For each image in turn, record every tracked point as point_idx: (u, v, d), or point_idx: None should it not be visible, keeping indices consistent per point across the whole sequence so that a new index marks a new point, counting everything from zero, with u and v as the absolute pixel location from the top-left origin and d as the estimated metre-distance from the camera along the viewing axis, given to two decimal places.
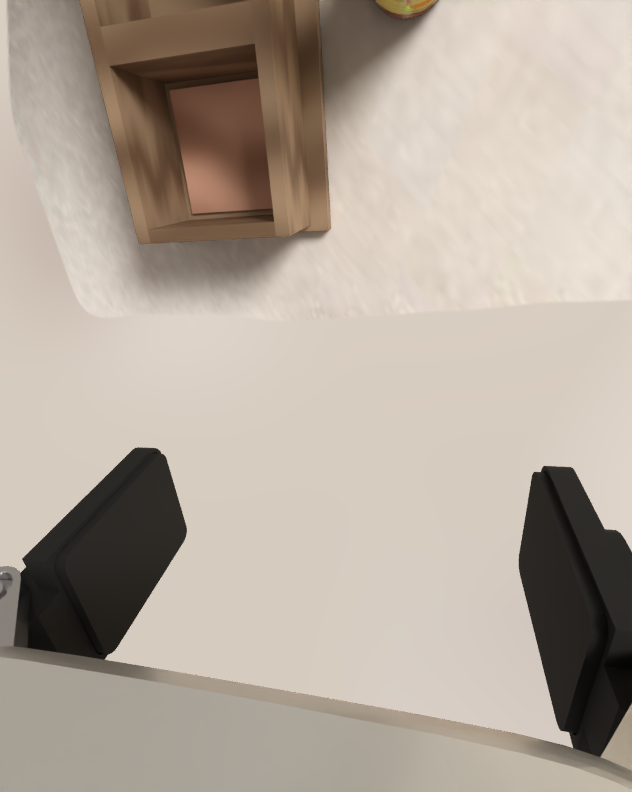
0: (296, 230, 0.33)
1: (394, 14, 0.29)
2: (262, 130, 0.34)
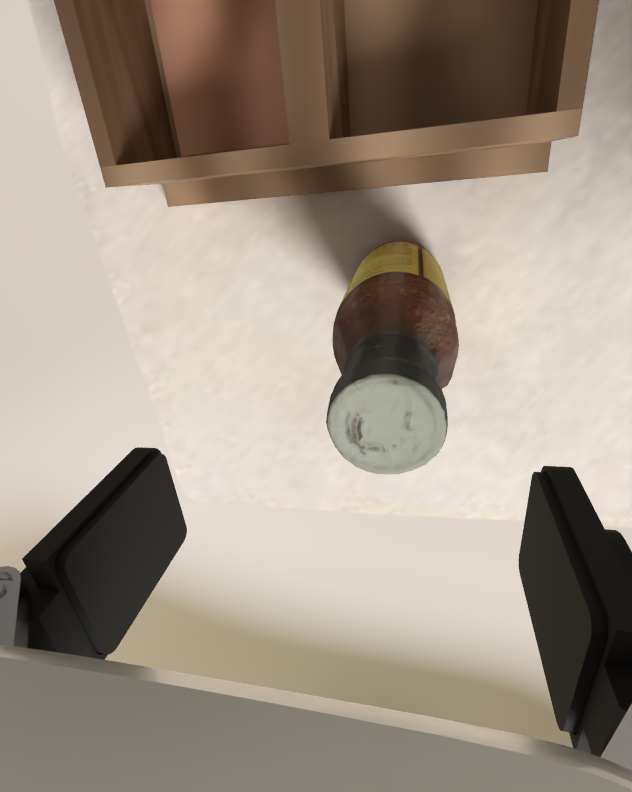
0: (129, 185, 0.26)
1: None
2: (255, 114, 0.27)
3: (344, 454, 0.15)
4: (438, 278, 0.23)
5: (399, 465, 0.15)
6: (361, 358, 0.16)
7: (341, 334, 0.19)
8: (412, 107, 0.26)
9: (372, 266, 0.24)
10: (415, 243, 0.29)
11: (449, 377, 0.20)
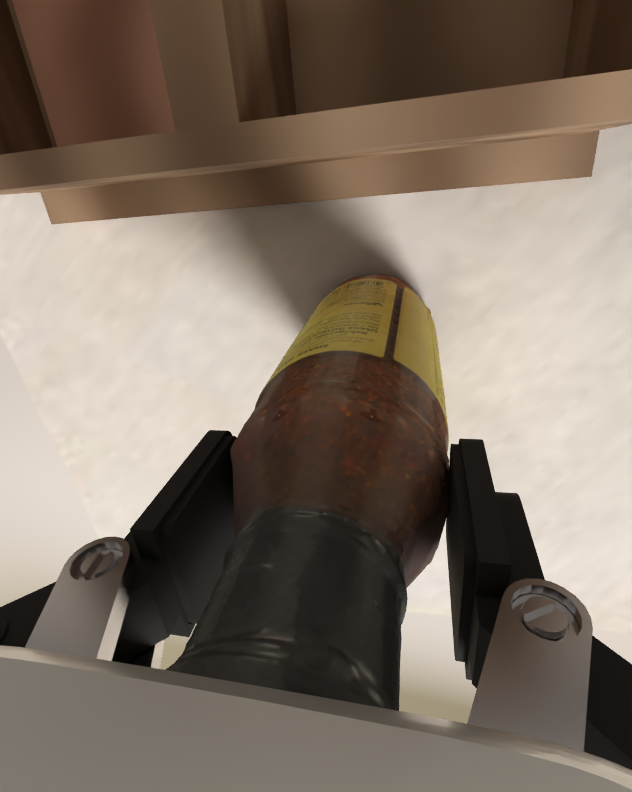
0: None
1: None
2: (157, 91, 0.18)
3: None
4: (421, 350, 0.14)
5: None
6: (227, 601, 0.07)
7: (233, 480, 0.10)
8: (388, 79, 0.17)
9: (317, 328, 0.15)
10: (395, 278, 0.21)
11: (434, 549, 0.11)
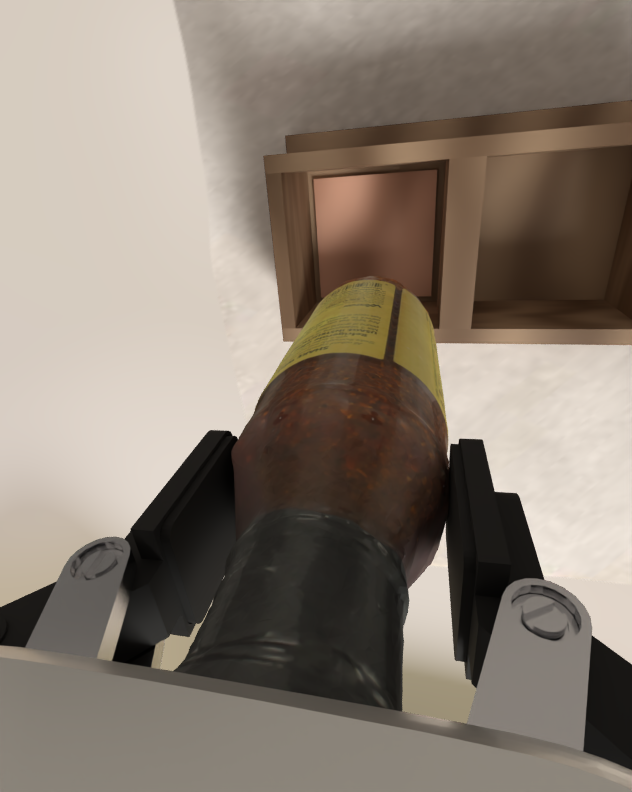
0: None
1: None
2: (388, 275, 0.35)
3: None
4: (421, 352, 0.14)
5: None
6: (230, 604, 0.07)
7: (234, 483, 0.10)
8: (516, 280, 0.33)
9: (317, 329, 0.15)
10: (394, 280, 0.21)
11: (434, 551, 0.11)
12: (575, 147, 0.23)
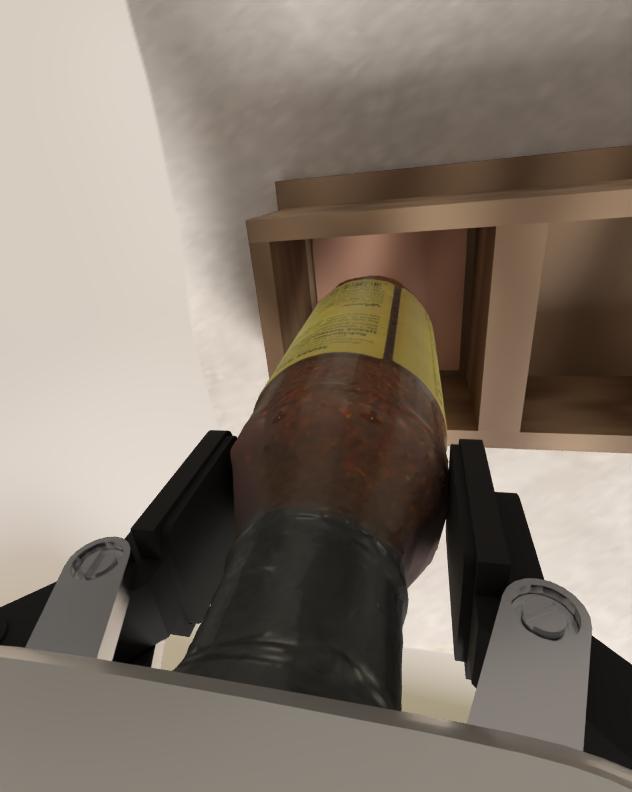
0: None
1: None
2: None
3: None
4: (420, 351, 0.14)
5: None
6: (229, 604, 0.07)
7: (233, 482, 0.10)
8: (566, 352, 0.27)
9: (316, 329, 0.15)
10: (393, 279, 0.21)
11: (434, 550, 0.11)
12: None
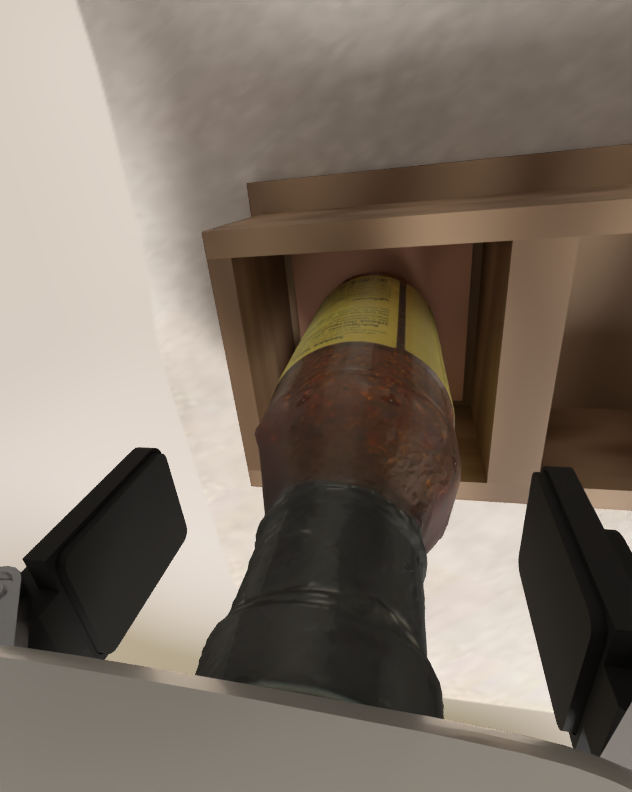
0: None
1: None
2: None
3: None
4: (428, 342, 0.15)
5: None
6: (271, 562, 0.08)
7: (260, 461, 0.11)
8: (587, 382, 0.23)
9: (329, 321, 0.16)
10: (397, 276, 0.21)
11: (445, 526, 0.12)
12: None
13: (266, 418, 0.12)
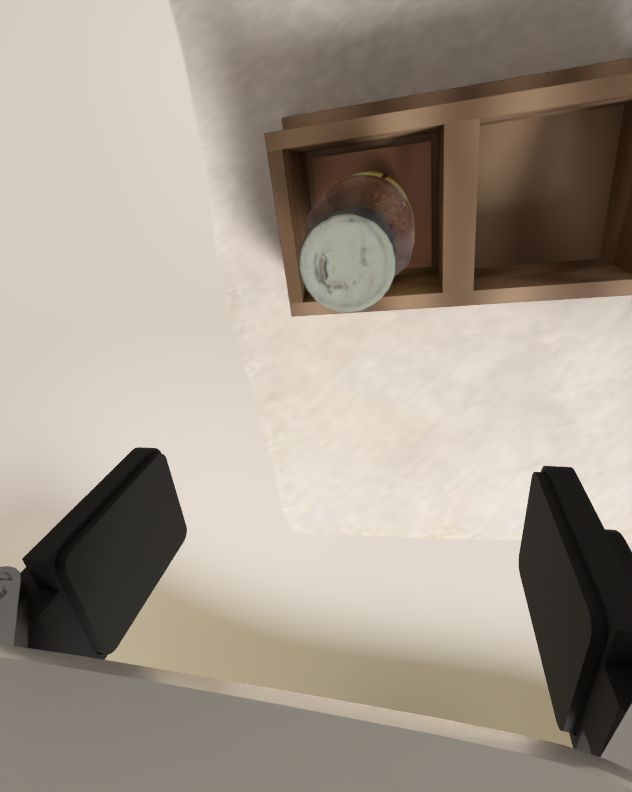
0: None
1: None
2: None
3: (314, 295, 0.18)
4: (399, 187, 0.26)
5: (359, 301, 0.18)
6: None
7: (313, 220, 0.22)
8: (513, 245, 0.34)
9: None
10: None
11: (407, 259, 0.23)
12: (564, 104, 0.24)
13: (313, 207, 0.23)
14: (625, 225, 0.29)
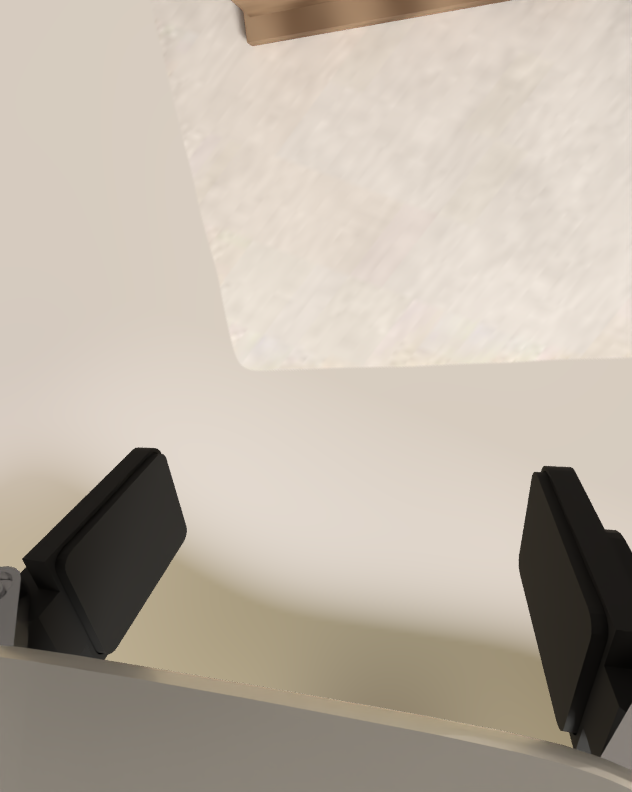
0: None
1: None
2: None
3: None
4: None
5: None
6: None
7: None
8: None
9: None
10: None
11: None
12: None
13: None
14: None
